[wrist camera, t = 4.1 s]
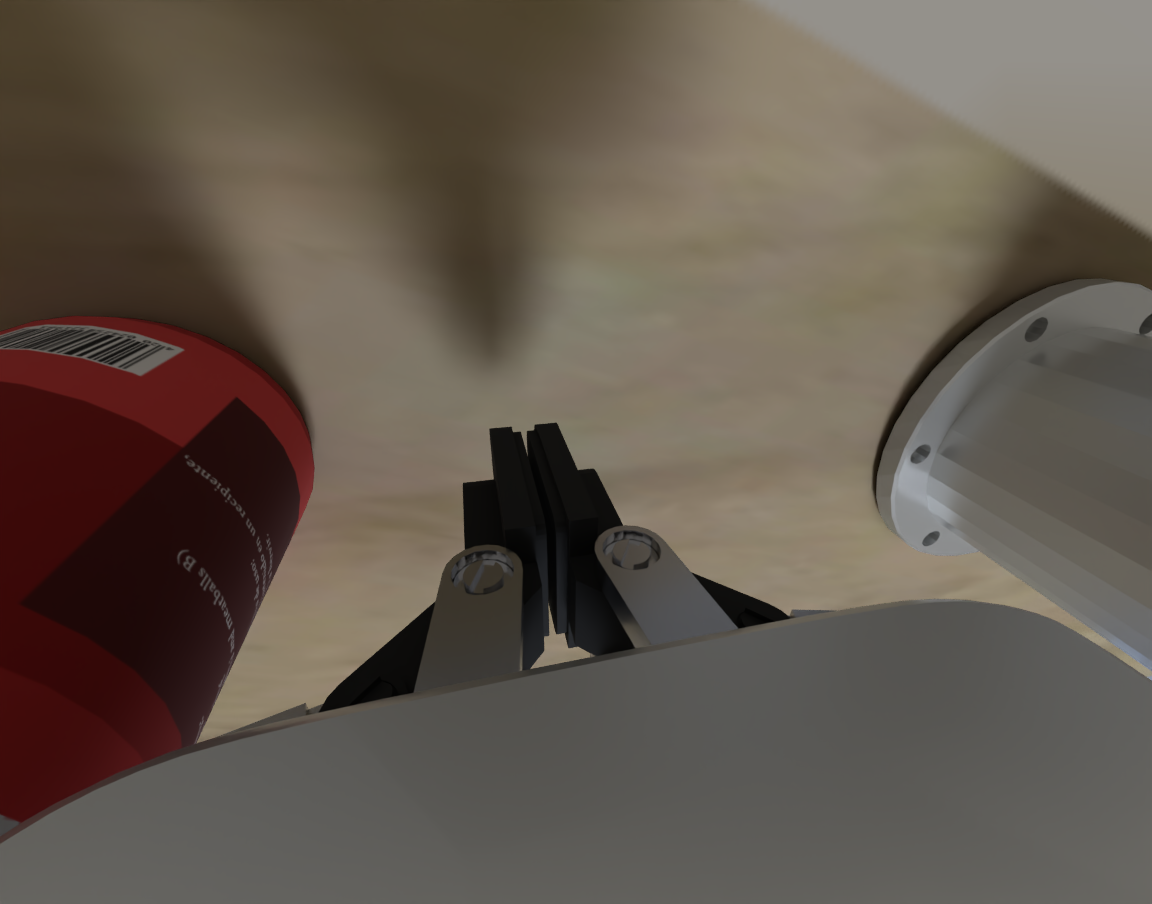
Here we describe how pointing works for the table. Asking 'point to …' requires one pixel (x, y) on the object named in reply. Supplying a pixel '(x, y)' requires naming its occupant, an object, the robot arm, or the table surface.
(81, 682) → the canned food
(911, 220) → the table surface
